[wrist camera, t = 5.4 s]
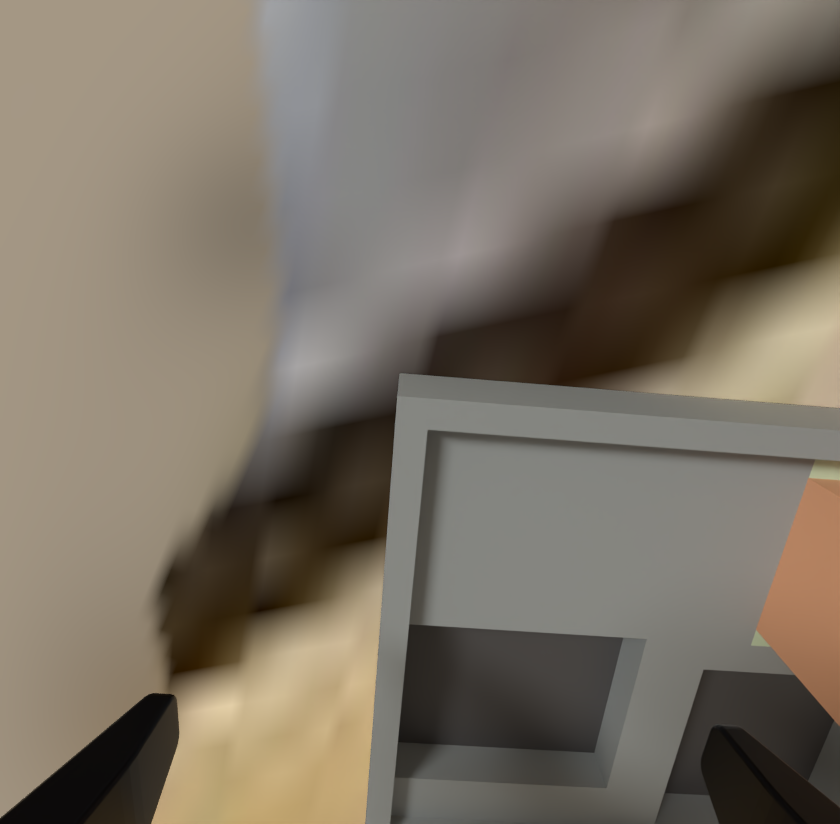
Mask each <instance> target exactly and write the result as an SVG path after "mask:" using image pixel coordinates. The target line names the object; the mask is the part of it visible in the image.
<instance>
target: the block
mask: <svg viewBox="0 0 840 824" xmlns="http://www.w3.org/2000/svg"><path fill="white" fill-rule="evenodd" d="M756 630H757V631H758V633H759V634H760V635H761V636H762V637H763V638H764V639H765V641H766V642H767V643H768V644H769V645H770V646H771V648H772V649H773V650H774V651H775V652H776V653H777V655H778V656H779V657H780V658H781V659H782V660H783V661H784V663H785V664H786V665H787V666H788V667H789V668H790V670H791V671H792V672H793V673H794V674H795V675H796V677H797V678H798V679H799V680H800V681H801V682H802V683H803V685H804V686H805V687H806V688H807V689H808V690H809V692H810V693H811V694H812V695H813V696H814V697H815V699H816V700H817V701H818V702H819V703H820V704H821V705H822V707H823V708H824V709H825V710H826V711H827V712H828V714H829V715H830V716H831V717H832V718H833V719H834V721H835V722H836V723H837V724H838V725H839V726H840V480H830V479H817V478H808V480H807V483H806V486H805V489H804V492H803V495H802V498H801V501H800V504H799V506H798V509H797V512H796V515H795V518H794V521H793V524H792V527H791V530H790V532H789V535H788V538H787V541H786V544H785V547H784V550H783V553H782V556H781V558H780V561H779V564H778V567H777V570H776V573H775V576H774V579H773V582H772V585H771V587H770V590H769V593H768V596H767V599H766V602H765V605H764V608H763V611H762V613H761V616H760V619H759V622H758V625H757V628H756Z"/></svg>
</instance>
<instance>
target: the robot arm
mask: <svg viewBox="0 0 840 824" xmlns="http://www.w3.org/2000/svg"><path fill="white" fill-rule="evenodd" d="M178 739H179V721H178V708H177V699H176V697H175V696H174V695H172V694H159V693H152V694H149V695H147V696H146V697H144V698H143V699H142V700H141V701H139V702H138V703H137V704H136V705H135V706H133V707H132V708H131V709H130V710H129V711H127V712H126V713H125V714H124V715H123V716H121V717H120V718H119V719H118V720H117V721H116V722H114V723H113V724H112V725H111V726H109V728H107V729H106V730H105V731H104V732H102V733H101V734H100V735H99V736H98V737H96V738H95V739H94V740H93V741H92V742H90V743H89V744H88V745H87V746H86V747H84V748H83V749H82V750H81V751H80V752H78V753H77V754H76V755H75V756H74V757H72V758H71V759H70V760H69V761H68V762H66V763H65V764H64V765H63V766H62V767H61V768H59V769H58V770H57V771H56V772H55V773H53V774H52V775H51V776H50V777H49V778H47V779H46V780H45V781H44V782H43V783H41V784H40V785H39V786H38V787H37V788H36V789H34V790H33V791H32V792H31V793H29V794H28V795H27V796H26V797H25V798H24V799H22V800H21V801H20V802H19V803H18V804H16V805H15V806H14V807H13V808H12V809H10V810H9V811H8V812H7V813H6V814H5V815H3V816H2V817H1V818H0V824H151V822H152V819H153V816H154V814H155V811H156V808H157V805H158V802H159V799H160V796H161V793H162V790H163V787H164V784H165V781H166V778H167V775H168V772H169V769H170V766H171V763H172V760H173V757H174V754H175V751H176V748H177V744H178ZM701 772H702V776H703V779H704V782H705V785H706V788H707V791H708V793H709V796H710V799H711V802H712V805H713V808H714V811H715V814H716V817H717V820H718V822H719V824H840V807H839V806H838V805H837V804H835V803H834V802H833V801H832V800H830V799H829V798H828V797H827V796H826V795H824V794H823V793H822V792H821V791H819V790H818V789H817V788H816V787H814V786H813V785H812V784H811V783H810V782H808V781H807V780H806V779H805V778H803V777H802V776H801V775H800V774H798V773H797V772H796V771H795V770H794V769H792V768H791V767H790V766H789V765H787V764H786V763H785V762H784V761H783V760H781V759H780V758H779V757H778V756H776V755H775V754H774V753H773V752H771V751H770V750H769V749H768V748H767V747H765V746H764V745H763V744H762V743H760V742H759V741H758V740H757V739H755V738H754V737H753V736H752V735H751V734H749V733H748V732H747V731H746V730H744V729H743V728H741V727H739V726H736V725H724V724H716V725H714V726H713V727H712V728H711V730H710V733H709V736H708V739H707V742H706V745H705V748H704V751H703V754H702V757H701Z"/></svg>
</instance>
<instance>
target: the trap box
mask: <svg viewBox="0 0 840 824" xmlns="http://www.w3.org/2000/svg"><path fill="white" fill-rule="evenodd" d="M808 478H817V479H830V480H840V408H829V407H817V406H804V405H791V404H779V403H766V402H754V401H741V400H729V399H716V398H704V397H691V396H679V395H666V394H654V393H641V392H629V391H616V390H604V389H591V388H579V387H566V386H553V385H541V384H528V383H516V382H503V381H491V380H478V379H466V378H453V377H441V376H428V375H416V374H403V373H400V375H399V385H398V395H397V408H396V421H395V435H394V448H393V461H392V475H391V488H390V501H389V515H388V528H387V542H386V555H385V568H384V582H383V595H382V608H381V622H380V635H379V649H378V662H377V675H376V689H375V702H374V715H373V729H372V742H371V756H370V769H369V782H368V796H367V809H366V822H365V824H719V822H718V820H717V817H716V814H715V811H714V808H713V805H712V802H711V799H710V796H709V793H708V791H707V788H706V785H705V782H704V779H703V776H702V772H701V757H702V754H703V751H704V748H705V745H706V742H707V739H708V736H709V733H710V730H711V728H712V727H713V726H714V725H716V724H724V725H736V726H739V727H741V728H743V729H744V730H746V731H747V732H748V733H749V734H751V735H752V736H753V737H754V738H755V739H757V740H758V741H759V742H760V743H762V744H763V745H764V746H765V747H767V748H768V749H769V750H770V751H771V752H773V753H774V754H775V755H776V756H778V757H779V758H780V759H781V760H783V761H784V762H785V763H786V764H787V765H789V766H790V767H791V768H792V769H794V770H795V771H796V772H797V773H798V774H800V775H801V776H802V777H803V778H805V779H806V780H807V781H808V782H810V783H811V784H812V785H813V786H814V787H816V788H817V789H818V790H819V791H821V792H822V793H823V794H824V795H826V796H827V797H828V798H829V799H830V800H832V801H833V802H834V803H835V804H837V805H838V806H839V807H840V726H839V725H838V724H837V723H836V722H835V721H834V719H833V718H832V717H831V716H830V715H829V714H828V712H827V711H826V710H825V709H824V708H823V707H822V705H821V704H820V703H819V702H818V701H817V700H816V699H815V697H814V696H813V695H812V694H811V693H810V692H809V690H808V689H807V688H806V687H805V686H804V685H803V683H802V682H801V681H800V680H799V679H798V678H797V677H796V675H795V674H794V673H793V672H792V671H791V670H790V668H789V667H788V666H787V665H786V664H785V663H784V661H783V660H782V659H781V658H780V657H779V656H778V655H777V653H776V652H775V651H774V650H773V649H772V648H771V646H770V645H769V644H768V643H767V642H766V641H765V639H764V638H763V637H762V636H761V635H760V634H759V633H758V631H757V630H756V628H757V625H758V622H759V619H760V616H761V613H762V611H763V608H764V605H765V602H766V599H767V596H768V593H769V590H770V587H771V585H772V582H773V579H774V576H775V573H776V570H777V567H778V564H779V561H780V558H781V556H782V553H783V550H784V547H785V544H786V541H787V538H788V535H789V532H790V530H791V527H792V524H793V521H794V518H795V515H796V512H797V509H798V506H799V504H800V501H801V498H802V495H803V492H804V489H805V486H806V483H807V480H808Z"/></svg>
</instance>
